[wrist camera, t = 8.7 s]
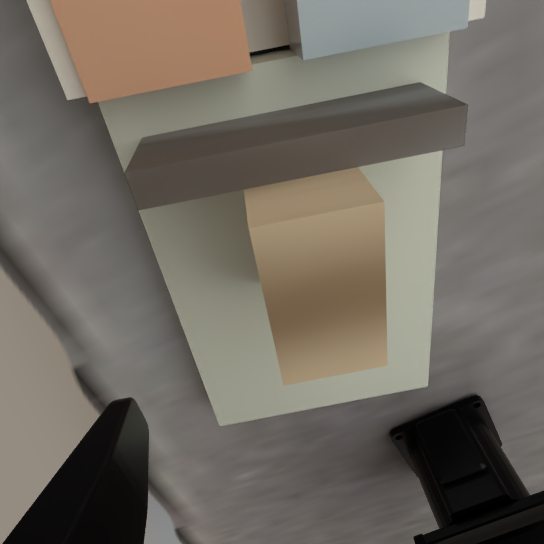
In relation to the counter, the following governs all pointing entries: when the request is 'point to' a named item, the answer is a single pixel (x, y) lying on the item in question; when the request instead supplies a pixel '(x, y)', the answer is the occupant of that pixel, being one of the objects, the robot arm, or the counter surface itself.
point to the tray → (256, 14)
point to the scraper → (308, 209)
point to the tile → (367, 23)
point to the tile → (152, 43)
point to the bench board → (237, 242)
